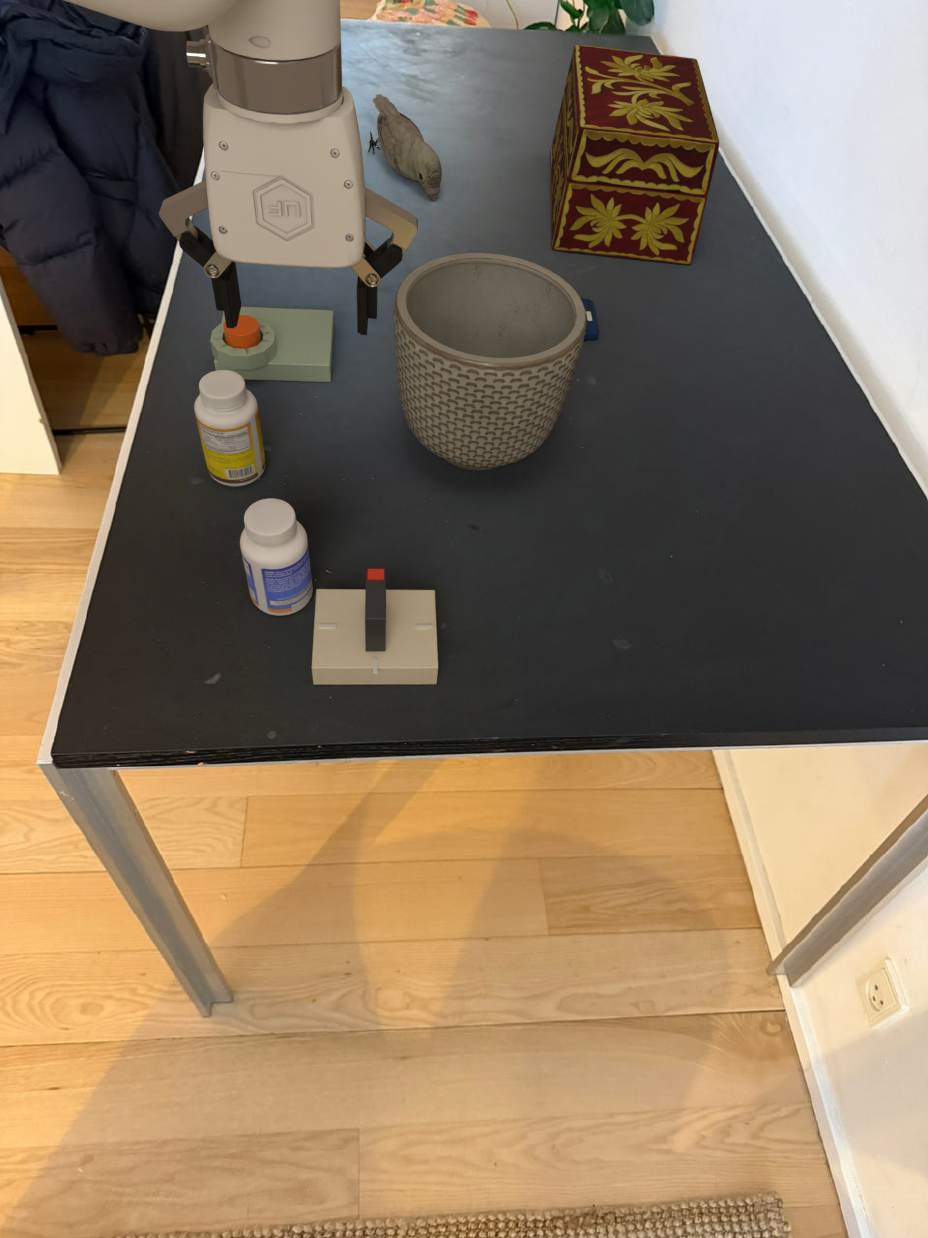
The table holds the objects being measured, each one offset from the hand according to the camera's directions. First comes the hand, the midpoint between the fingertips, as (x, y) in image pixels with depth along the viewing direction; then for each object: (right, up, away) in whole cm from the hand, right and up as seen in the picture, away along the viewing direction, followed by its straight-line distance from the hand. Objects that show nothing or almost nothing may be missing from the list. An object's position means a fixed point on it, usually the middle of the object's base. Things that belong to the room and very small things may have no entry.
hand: (299, 320), depth 65 cm
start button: (-11, +7, +25) cm, 28 cm away
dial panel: (+5, -25, +8) cm, 26 cm away
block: (-8, +7, +30) cm, 32 cm away
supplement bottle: (-10, -8, +19) cm, 23 cm away
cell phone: (+21, +13, +38) cm, 45 cm away
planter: (+14, -4, +24) cm, 28 cm away
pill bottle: (-3, -20, +10) cm, 23 cm away
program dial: (+5, -23, +6) cm, 24 cm away
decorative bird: (+4, +40, +57) cm, 69 cm away
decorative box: (+34, +35, +56) cm, 74 cm away
